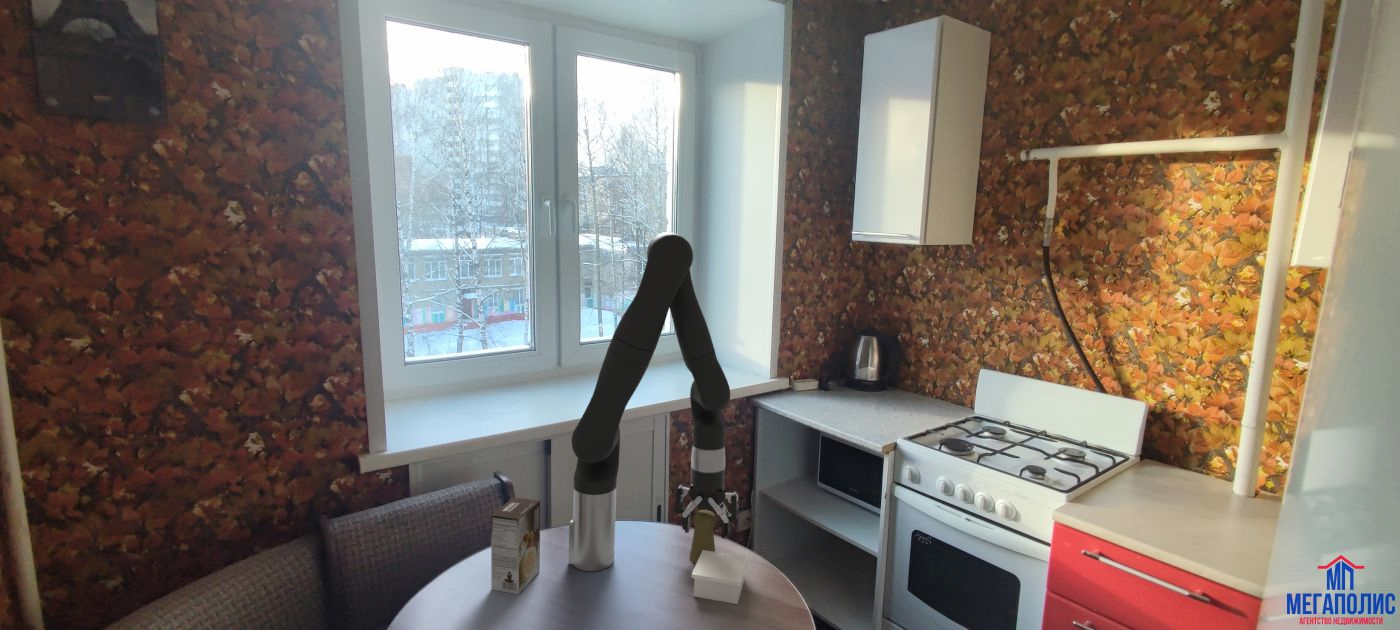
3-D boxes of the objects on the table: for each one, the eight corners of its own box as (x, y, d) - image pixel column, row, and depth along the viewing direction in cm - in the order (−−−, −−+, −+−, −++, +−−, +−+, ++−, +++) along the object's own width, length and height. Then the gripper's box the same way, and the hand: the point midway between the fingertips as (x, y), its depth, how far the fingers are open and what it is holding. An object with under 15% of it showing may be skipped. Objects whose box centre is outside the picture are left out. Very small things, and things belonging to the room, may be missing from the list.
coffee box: (512, 567, 131) (513, 495, 129) (540, 571, 130) (541, 499, 128) (490, 590, 122) (490, 514, 120) (519, 595, 121) (520, 518, 119)
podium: (690, 597, 123) (691, 574, 123) (701, 571, 133) (702, 550, 132) (739, 606, 121) (740, 582, 121) (746, 579, 131) (748, 557, 130)
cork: (696, 549, 143) (698, 504, 141) (720, 556, 140) (722, 510, 139) (684, 560, 137) (686, 514, 136) (709, 568, 135) (711, 520, 133)
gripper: (672, 467, 134) (670, 537, 136) (736, 474, 130) (733, 546, 132) (681, 455, 141) (679, 522, 143) (742, 462, 137) (739, 531, 139)
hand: (705, 534), depth 137 cm, fingers open, 8 cm apart
